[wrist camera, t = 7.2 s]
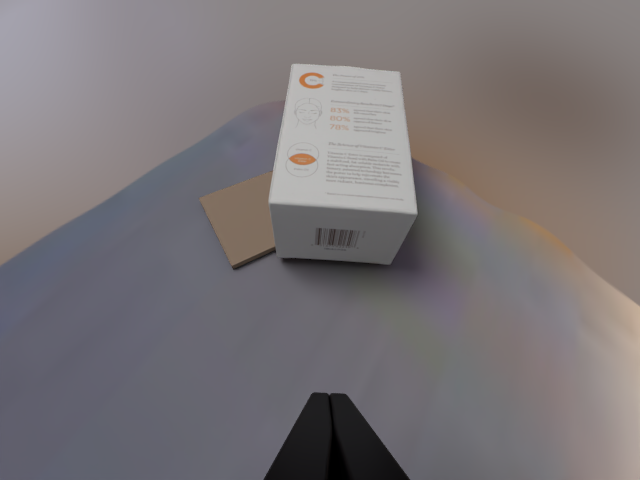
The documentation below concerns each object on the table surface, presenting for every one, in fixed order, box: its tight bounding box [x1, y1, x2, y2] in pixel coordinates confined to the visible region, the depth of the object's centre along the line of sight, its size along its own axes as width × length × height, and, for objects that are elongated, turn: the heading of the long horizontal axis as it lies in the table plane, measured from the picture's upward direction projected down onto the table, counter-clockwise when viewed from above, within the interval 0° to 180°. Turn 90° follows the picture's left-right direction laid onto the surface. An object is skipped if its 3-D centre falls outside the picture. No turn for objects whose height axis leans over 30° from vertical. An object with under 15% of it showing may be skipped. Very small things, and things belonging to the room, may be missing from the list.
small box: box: [268, 64, 418, 265], centre depth 22 cm, size 8×6×13 cm
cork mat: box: [199, 171, 276, 269], centre depth 25 cm, size 6×12×1 cm, turn 120°
